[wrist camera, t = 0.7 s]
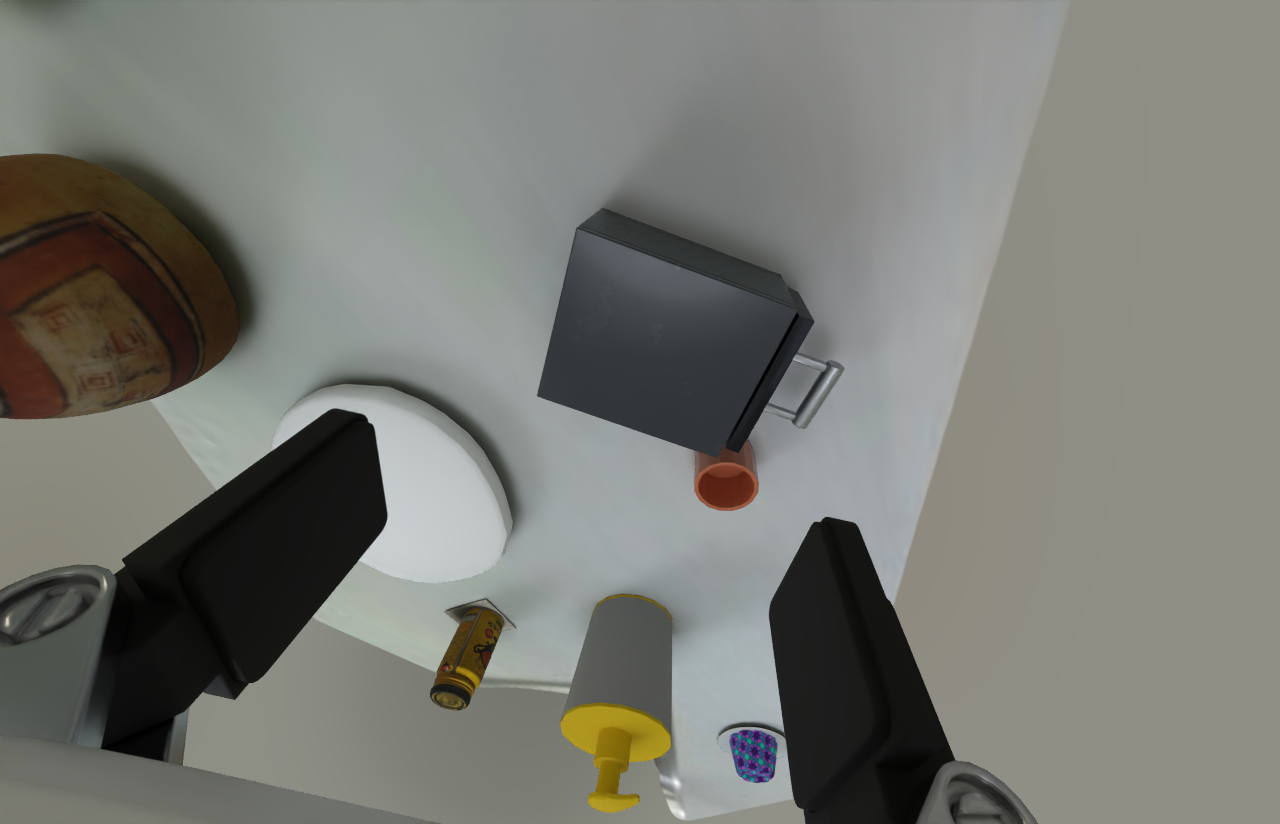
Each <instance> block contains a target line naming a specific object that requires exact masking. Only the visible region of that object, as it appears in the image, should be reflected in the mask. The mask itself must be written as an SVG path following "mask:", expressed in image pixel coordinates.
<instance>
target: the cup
mask: <svg viewBox="0 0 1280 824" xmlns="http://www.w3.org/2000/svg"><path fill="white" fill-rule="evenodd" d="M758 485H759V483H758V476H757V469H756V462H755V455H754V452H753V448H752V446H751V444H750V443H749V441H748V440H746V442H745V443H744V445H743V447H742V448H741V450H740V452H739V453H737V452H734V451H731V450H728V449H726V445H724V447H723V448H722V450H721V452H720V454H719V456H718V457H717V458H715V457H712V456H709V455H706V454H703V453H700V452H698V451H696V453H695V477H694V491H695V493H696V495H697V497H698V498H699V500H700V501H701V502H703V503H704V504H705V505H706V506H708V507H710V508H713V509H716V510H720V511H733V510H737V509H740V508H743V507H745V506H746V505H748V504H749V503H751V502H752V501H753V500H754V498H755V497H756V495H757V493H758Z"/></svg>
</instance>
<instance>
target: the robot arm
mask: <svg viewBox="0 0 1280 824" xmlns="http://www.w3.org/2000/svg"><path fill="white" fill-rule="evenodd" d="M387 518H388V513H387V506H386V500H385V493H384V487H383V480H382V473H381V467H380V460H379V454H378V447H377V441H376V434H375V428H374V426H373V424H372V423H369V422H368V419H367V417H366V416H365V415H363V414H361V413H356V412H351V411H347V410H342V409H338V408H333V409H330V410H328V411H327V412H325V413H324V414H322V415H321V416H320V417H318V418H317V419H316V420H314V421H313V422H311V423H310V424H309V425H307V426H306V427H304V428H303V429H302V430H300V431H299V432H298V433H296V434H295V435H293V436H292V437H291V438H289V439H288V440H286V441H285V442H284V443H282V444H281V445H280V446H278V447H277V448H275V449H274V450H273V451H271V452H270V453H268V454H267V455H266V456H264V457H263V458H262V459H260V460H259V461H257V462H256V463H255V464H253V465H252V466H250V467H249V468H248V469H246V470H245V471H244V472H242V473H241V474H239V475H238V476H237V477H235V478H234V479H232V480H231V481H230V482H228V483H227V484H226V485H224V486H223V487H221V488H220V489H219V490H217V491H216V492H214V493H213V494H212V495H210V496H209V497H208V498H206V499H205V500H203V501H202V502H201V503H199V504H198V505H197V506H195V507H194V508H192V509H191V510H190V511H188V512H187V513H185V514H184V515H183V516H181V517H180V518H178V519H177V520H176V521H175V522H173V523H172V524H170V525H169V526H167V527H166V528H165V529H163V530H162V531H160V532H159V533H158V534H156V535H155V536H154V537H152V538H151V539H149V540H148V541H147V542H145V543H144V544H142V545H141V546H140V547H138V548H137V549H136V550H134V551H133V552H132V553H130V554H129V555H127V556H126V557H124V558H123V559H122V561H123V562H124V564H125V567H124V568H122V569H121V570H120V571H118V572H117V573H115V574H114V575H113V574H112V573H111V571H109V569H106V568H103V567H100V566H97V565H72V566H66V567H60V568H55V569H51V570H48V571H44V572H41V573H38V574H34V575H31V576H29V577H27V578H25V579H22V580H20V581H18V582H15V583H13V584H11V585H8V586H6V587H5V588H3V589H1V590H0V824H440V823H436V822H431V821H427V820H423V819H418V818H414V817H410V816H405V815H401V814H396V813H392V812H388V811H383V810H378V809H375V808H370V807H366V806H361V805H357V804H353V803H347V802H343V801H339V800H335V799H330V798H326V797H321V796H317V795H312V794H308V793H304V792H299V791H295V790H290V789H286V788H281V787H277V786H272V785H268V784H263V783H259V782H255V781H250V780H246V779H241V778H237V777H232V776H227V775H223V774H219V773H214V772H210V771H205V770H201V769H197V768H192V767H187V766H183V757H184V748H185V740H186V739H185V738H186V731H187V722H188V713H189V707H190V705H191V704H192V703H193V702H194V701H195V700H196V698H198V696H199V695H200V694H201V693H202V692H203V691H204V693H207V694H211V695H215V696H220V697H224V698H229V699H233V700H235V699H236V698H237V697H238V696H239V695H240V693H241V692H242V691H243V689H245V687H246V686H247V685H248V684H249V683H254V682H256V681H258V680H259V679H260V678H262V677H263V676H264V675H265V674H266V672H267V671H268V670H269V669H270V668H271V666H272V665H273V664H274V663H275V662H276V660H277V659H278V658H279V657H280V655H281V654H282V653H283V652H284V650H285V649H286V648H287V647H288V646H289V644H290V643H291V642H292V641H293V639H294V638H295V637H296V636H297V635H298V634H299V632H300V631H301V630H302V629H303V627H304V626H305V625H306V624H307V623H308V621H309V620H310V619H311V618H312V616H313V615H314V614H315V613H316V612H317V610H318V609H319V608H320V607H321V605H322V604H323V603H324V602H325V601H326V599H327V598H328V597H329V596H330V595H331V593H332V592H333V591H334V590H335V588H336V587H337V586H338V585H339V584H340V582H341V581H342V580H343V579H344V577H345V576H346V575H347V574H348V573H349V571H350V570H351V569H352V568H353V566H354V565H355V564H356V563H357V562H358V560H359V559H360V558H361V557H362V556H363V554H364V553H365V552H366V551H367V549H368V548H369V547H370V546H371V545H372V543H373V542H374V541H375V540H376V538H377V537H378V536H379V535H380V534H381V532H382V531H383V529H384V527H385V525H386V523H387ZM769 621H770V628H771V636H772V643H773V651H774V658H775V665H776V673H777V680H778V688H779V695H780V702H781V710H782V717H783V725H784V732H785V740H786V747H787V754H788V762H789V769H790V777H791V784H792V792H793V797H794V800H795V803H796V805H797V807H799V808H802V809H803V810H804V816H805V823H806V824H1038V823H1037V821H1036V820H1035V818H1034V817H1033V815H1032V814H1031V813H1030V811H1029V810H1028V809H1027V807H1026V806H1025V805H1024V804H1023V802H1022V801H1021V800H1020V798H1018V796H1017V795H1016V794H1015V793H1014V792H1013V791H1012V790H1010V788H1009V787H1008V786H1007V785H1006V784H1005V783H1003V782H1002V781H1001V780H999V779H998V778H997V777H995V776H994V775H993V774H991V773H990V772H988V771H987V770H985V769H983V768H981V767H979V766H976V765H974V764H972V763H970V762H963V761H956V760H955V758H954V756H953V753H952V751H951V749H950V746H949V743H948V741H947V738H946V736H945V734H944V731H943V729H942V726H941V724H940V721H939V719H938V716H937V714H936V712H935V709H934V706H933V704H932V701H931V699H930V696H929V694H928V691H927V689H926V687H925V684H924V681H923V679H922V677H921V674H920V672H919V669H918V667H917V664H916V662H915V659H914V657H913V654H912V652H911V649H910V647H909V644H908V642H907V639H906V637H905V634H904V632H903V629H902V627H901V625H900V622H899V620H898V617H897V615H896V612H895V610H894V608H893V606H892V604H891V602H890V601H889V600H888V599H887V598H886V596H885V593H884V591H883V588H882V586H881V583H880V580H879V578H878V575H877V573H876V570H875V568H874V565H873V563H872V560H871V558H870V555H869V553H868V550H867V548H866V545H865V543H864V540H863V538H862V535H861V532H860V530H859V528H858V526H857V525H856V524H855V523H853V522H849V521H844V520H840V519H835V518H831V517H825V518H824V519H822V521H821V522H814V523H813V524H812V525H811V527H810V529H809V531H808V533H807V535H806V537H805V538H804V540H803V542H802V544H801V546H800V548H799V550H798V552H797V554H796V555H795V557H794V559H793V561H792V563H791V565H790V567H789V569H788V570H787V572H786V574H785V576H784V578H783V580H782V582H781V584H780V586H779V587H778V589H777V591H776V593H775V595H774V597H773V599H772V601H771V604H770V609H769Z"/></svg>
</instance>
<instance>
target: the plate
mask: <svg viewBox="0 0 1280 824" xmlns="http://www.w3.org/2000/svg"><path fill="white" fill-rule="evenodd" d="M333 408H338V409H342V410H347V411H351V412H356V413H361V414H363V415H365V416H366V417H367V419H368V422H369V423H372V424H373V426H374V428H375V434H376V441H377V447H378V454H379V460H380V467H381V473H382V480H383V487H384V493H385V500H386V506H387V513H388V518H387V523H386V525H385V527H384V529H383V531H382V532H381V534H380V535H379V536H378V537H377V538H376V540H375V541H374V542H373V543H372V545H371V546H370V547H369V548H368V549H367V551H366V552H365V553H364V554H363V556H362V557H361V558H360V559H359V561H360V562H362V563H364V564H366V565H368V566H370V567H372V568H374V569H376V570H378V571H381V572H383V573H386V574H388V575H391V576H394V577H396V578H400V579H405V580H411V581H416V582H422V583H445V582H451V581H457V580H463V579H466V578H470V577H473V576H476V575H479V574H481V573H483V572H485V571H487V570H489V569H491V568H492V567H493V566H494V565H495V564H496V563H497V562H498V561H499V559H500V558H501V557H502V556H503V554H504V553H505V551H506V548H507V545H508V541H509V538H510V534H511V530H512V527H513V520H512V516H511V513H510V509H509V505H508V502H507V498H506V494H505V491H504V489H503V487H502V484H501V482H500V480H499V477H498V475H497V473H496V472H495V470H494V468H493V466H492V465H491V463H490V461H489V460H488V458H487V456H486V454H485V453H484V451H483V450H482V448H481V447H480V446H479V445H478V444H477V443H476V441H475V440H474V439H473V438H472V437H471V436H470V435H469V433H467V432H466V431H465V430H464V429H463V428H461V427H460V426H459V425H458V424H456V423H455V422H454V421H453V420H452V419H450V418H449V417H448V416H447V415H445V414H444V413H443V412H441V411H439V410H438V409H436V408H434V407H433V406H431V405H429V404H428V403H426V402H424V401H422V400H420V399H418V398H415V397H413V396H410V395H408V394H405V393H403V392H401V391H398V390H396V389H393V388H391V387H384V386H369V385H354V384H341V385H335V386H329V387H324V388H321V389H319V390H317V391H315V392H313V393H311V394H309V395H307V396H305V397H304V398H302V399H300V400H298V401H297V402H296V403H295V404H294V405H293V406H292V407H291V408H290V409H289V410H288V411H287V412H286V413H285V414H284V416H283V417H282V418H281V420H280V422H279V424H278V427H277V429H276V431H275V433H274V437H273V443H272V451H273V450H274V449H275V448H277V447H278V446H280V445H281V444H282V443H284V442H285V441H286V440H288V439H289V438H291V437H292V436H293V435H295V434H296V433H298V432H299V431H300V430H302V429H303V428H304V427H306V426H307V425H309V424H310V423H311V422H313V421H314V420H316V419H317V418H318V417H320V416H321V415H322V414H324V413H325V412H327V411H328V410H330V409H333Z"/></svg>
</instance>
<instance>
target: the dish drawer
mask: <svg viewBox="0 0 1280 824" xmlns="http://www.w3.org/2000/svg"><path fill="white" fill-rule="evenodd" d="M787 289H788V291H789V293H790V295H791V297H792V299H793V301H794V303H795V305H796V307H797V309H798V311H797V313H796V315H795V317H794V319H793V320H792V322H791V324H790V326H789V328H788V330H787V331H786V333H785V335H784V337H783V339H782V341H781V342H780V344H779V346H778V348H777V350H776V351H775V353H774V355H773V357H772V359H771V361H770V362H769V364H768V366H767V368H766V370H765V372H764V373H763V375H762V377H761V379H760V381H759V383H758V384H757V386H756V388H755V390H754V392H753V394H752V395H751V397H750V399H749V401H748V403H747V405H746V406H745V408H744V410H743V412H742V414H741V416H740V417H739V419H738V421H737V423H736V425H735V427H734V428H733V430H732V432H731V434H730V436H729V437H728V439H727V441H726V443H725V445H726V449H728V450H731V451H734V452H737V453H739V452H740V450H741V448H742V447H743V445H744V443H745V442H746V440H747V438H748V436H749V435H750V433H751V431H752V429H753V428H754V426H755V424H756V422H757V421H758V419H759V417H760V415H761V414H762V412H763V410H764V411H766V412H769V413H772V414H775V415H778V416H781V417H783V418H786V419H789V420H791V421H792V423H793V424H794V425H795V426H797V427H799V428H802V429H805V428H807V426H808V424H809V423H810V421H811V420H812V418H813V417H814V415H815V414H816V412H817V411H818V409H819V408H820V406H821V405H822V403H823V402H824V400H825V399H826V397H827V396H828V394H829V393H830V391H831V389H832V388H833V386H834V385H835V383H836V382H837V380H838V379H839V377H840V376H841V374H842V373H843V371H844V369H845V368H844V367H843V366H842V365H841V364H839V363H838V362H835V361H832V360H829V361H828V362H827V363H826V362H824V361H821V360H818V359H815V358H813V357H810V356H807V355H804V354H802V353H799V352H797V351H798V350H799V348H800V346H801V344H802V343H803V341H804V339H805V337H806V336H807V334H808V332H809V330H810V329H811V327H812V325H813V324H814V320H813V318H812V316H811V314H810V313H809V311H808V309H807V307H806V305H805V304H804V302H803V300H802V298H801V296H800V295H799V293H798V292H797V291H794V290H791V289H789V288H787ZM792 360H793V361H796V362H799V363H801V364H804V365H807V366H810V367H813V368H815V369H818V370H821V373H820V374H819V376H818V378H817V379H816V381H815V382H814V384H813V386H812V387H811V389H810V390H809V392H808V394H807V395H806V397H805V398H804V400H803V402H802V403H801V405H800V406H799V408H798V410H797V411H796V413H795V412H793V411H790V410H787V409H785V408H782V407H779V406H776V405H773V404H770V403H768V402H769V400H770V398H771V396H772V395H773V393H774V391H775V389H776V388H777V386H778V384H779V383H780V381H781V379H782V377H783V376H784V374H785V372H786V370H787V369H788V367H789V365H790V363H791V362H792Z"/></svg>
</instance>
